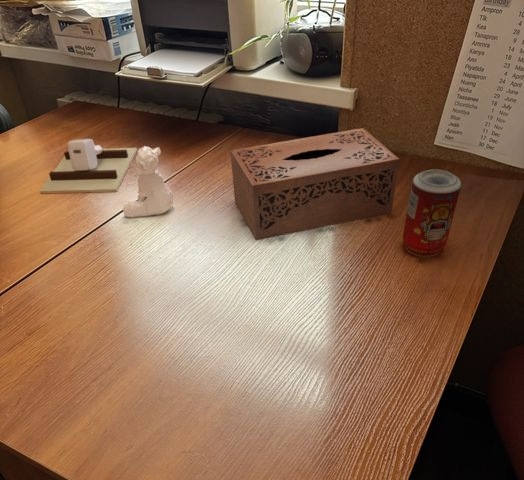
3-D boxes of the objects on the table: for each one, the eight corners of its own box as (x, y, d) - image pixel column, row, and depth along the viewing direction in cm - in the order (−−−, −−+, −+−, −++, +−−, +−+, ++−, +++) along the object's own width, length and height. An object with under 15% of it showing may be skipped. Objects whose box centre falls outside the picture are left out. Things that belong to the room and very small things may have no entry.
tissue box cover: (255, 239, 87) (252, 185, 80) (234, 201, 97) (230, 150, 90) (391, 212, 92) (399, 158, 85) (358, 178, 102) (362, 127, 95)
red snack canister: (415, 263, 80) (429, 191, 72) (393, 240, 85) (404, 171, 76) (453, 254, 82) (472, 182, 73) (430, 232, 86) (445, 163, 78)
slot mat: (40, 193, 103) (36, 184, 101) (69, 152, 117) (66, 143, 116) (116, 191, 102) (114, 182, 101) (137, 150, 116) (135, 141, 115)
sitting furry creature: (146, 193, 101) (132, 133, 92) (185, 199, 99) (174, 137, 90) (122, 217, 95) (105, 154, 86) (162, 223, 92) (149, 160, 84)
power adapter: (88, 164, 114) (83, 136, 111) (109, 163, 114) (104, 135, 111) (69, 171, 104) (63, 141, 101) (92, 171, 104) (86, 140, 101)
